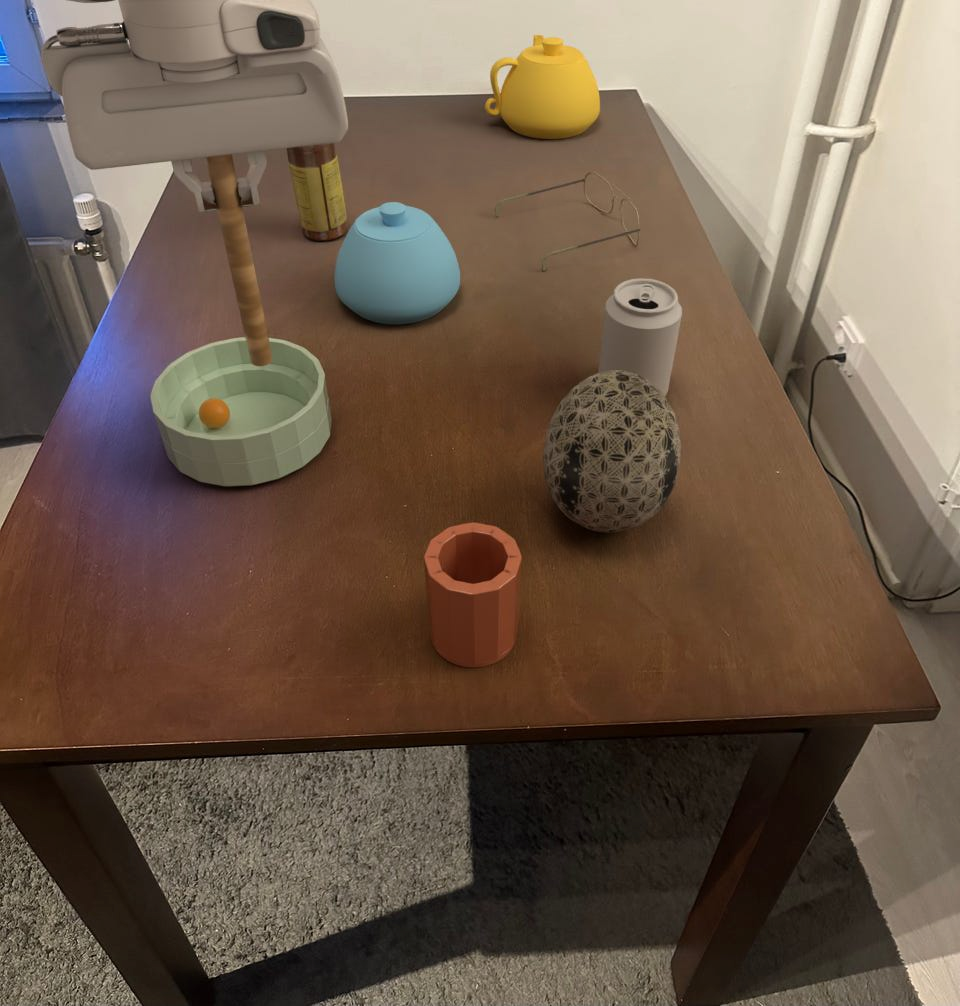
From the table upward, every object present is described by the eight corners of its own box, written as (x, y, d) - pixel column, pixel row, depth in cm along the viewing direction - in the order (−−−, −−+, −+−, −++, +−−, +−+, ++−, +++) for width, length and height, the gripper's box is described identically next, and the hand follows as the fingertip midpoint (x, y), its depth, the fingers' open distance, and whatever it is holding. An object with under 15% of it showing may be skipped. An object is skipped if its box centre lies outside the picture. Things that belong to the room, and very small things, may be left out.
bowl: (136, 475, 85) (117, 423, 81) (214, 378, 97) (201, 327, 92) (293, 505, 82) (282, 452, 78) (355, 401, 94) (348, 349, 89)
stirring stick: (247, 364, 82) (198, 147, 68) (256, 352, 83) (210, 137, 69) (267, 368, 81) (222, 150, 67) (276, 355, 83) (233, 140, 69)
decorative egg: (513, 519, 81) (518, 385, 71) (588, 454, 87) (603, 324, 77) (620, 582, 76) (642, 448, 65) (692, 509, 82) (723, 376, 71)
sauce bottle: (341, 218, 123) (323, 66, 109) (353, 238, 119) (336, 83, 105) (294, 226, 121) (270, 73, 108) (305, 247, 117) (281, 90, 103)
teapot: (609, 139, 142) (617, 54, 133) (492, 146, 140) (493, 60, 132) (581, 94, 156) (587, 14, 148) (475, 100, 155) (475, 19, 146)
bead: (196, 432, 89) (190, 408, 87) (210, 413, 91) (204, 390, 89) (224, 436, 88) (218, 413, 86) (237, 418, 90) (232, 394, 88)
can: (589, 406, 93) (600, 306, 84) (603, 366, 98) (615, 268, 90) (661, 419, 91) (679, 319, 83) (671, 378, 96) (689, 279, 88)
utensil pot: (419, 657, 70) (413, 582, 64) (444, 591, 75) (440, 515, 69) (505, 676, 69) (508, 601, 62) (525, 607, 74) (529, 532, 67)
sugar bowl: (313, 313, 106) (299, 221, 98) (376, 255, 116) (368, 168, 108) (425, 343, 101) (420, 250, 93) (480, 281, 111) (480, 191, 103)
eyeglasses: (646, 250, 117) (651, 214, 113) (542, 272, 113) (544, 235, 109) (591, 199, 127) (594, 164, 124) (494, 217, 123) (494, 182, 120)
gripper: (27, 45, 58) (93, 241, 67) (340, 18, 62) (360, 207, 71) (35, 16, 62) (95, 204, 72) (327, -7, 66) (347, 174, 76)
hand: (229, 205), depth 72 cm, fingers closed on stirring stick, 2 cm apart
